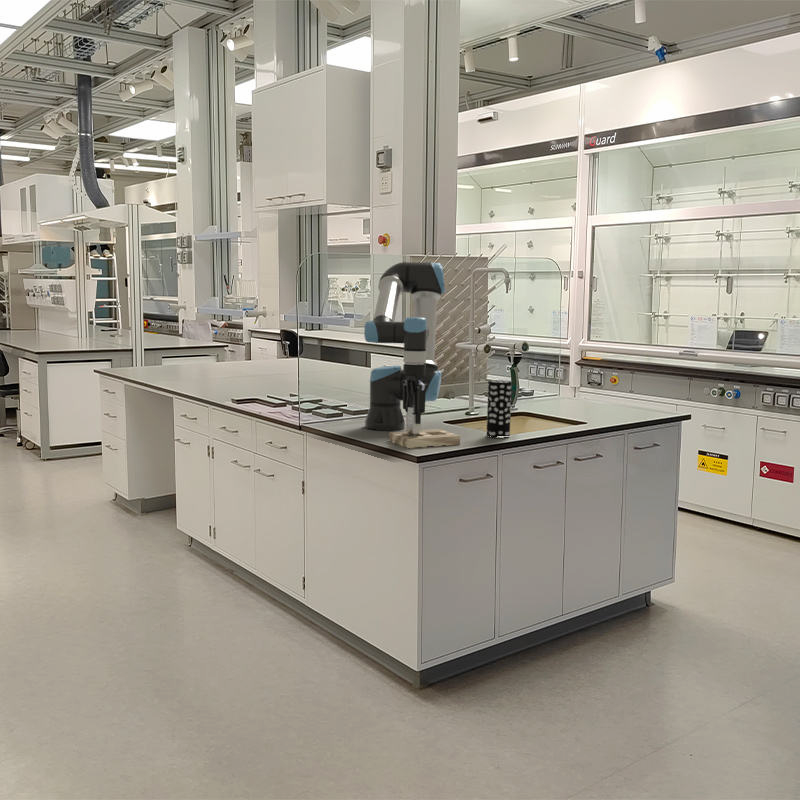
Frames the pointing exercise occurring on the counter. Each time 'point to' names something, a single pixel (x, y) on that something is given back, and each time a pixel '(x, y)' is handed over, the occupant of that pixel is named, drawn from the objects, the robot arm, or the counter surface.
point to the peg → (410, 423)
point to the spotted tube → (499, 408)
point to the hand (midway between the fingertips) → (413, 431)
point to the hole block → (425, 438)
